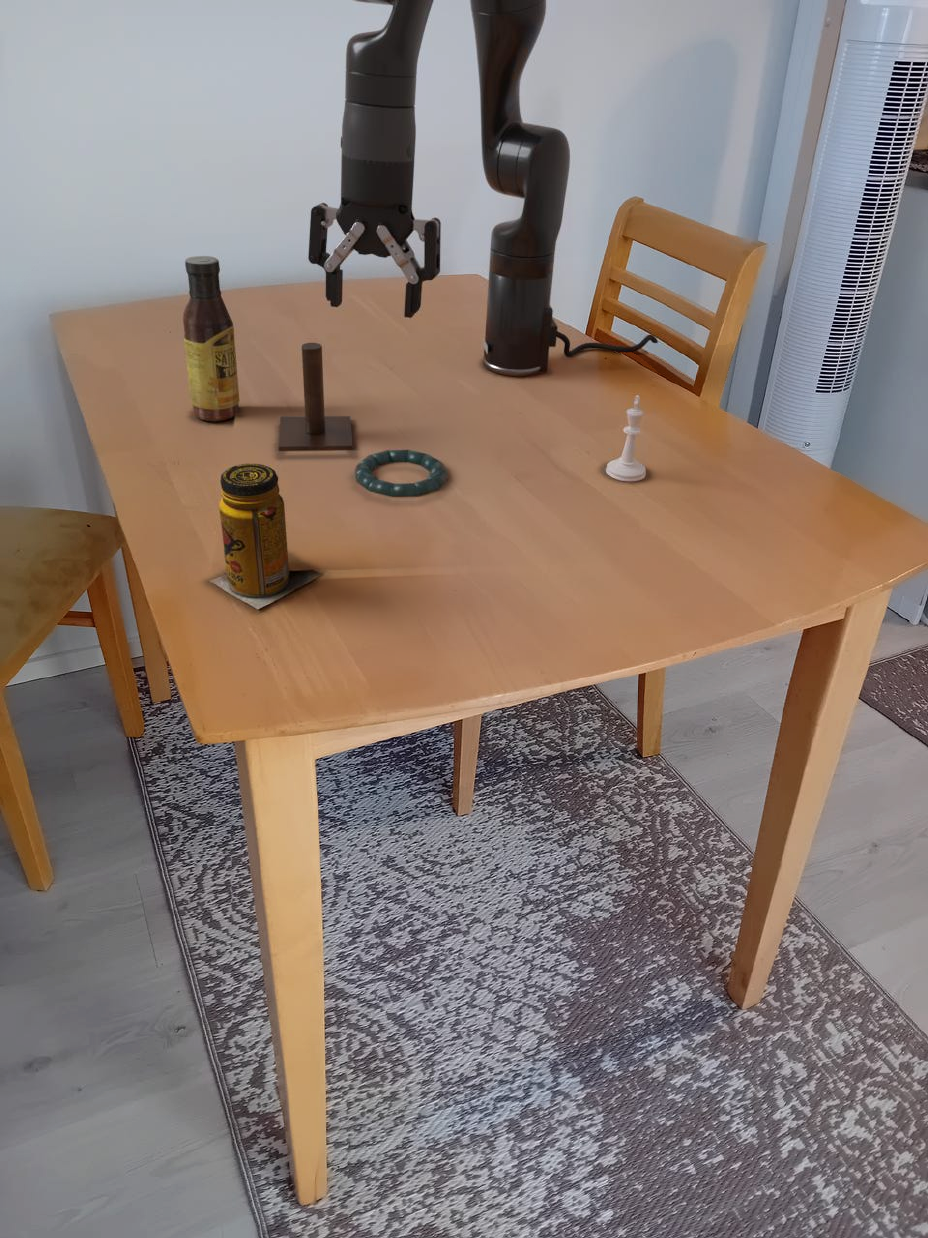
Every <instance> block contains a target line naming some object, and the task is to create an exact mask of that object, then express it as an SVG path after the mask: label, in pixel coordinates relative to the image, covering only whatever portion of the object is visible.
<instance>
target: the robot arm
mask: <svg viewBox="0 0 928 1238" xmlns="http://www.w3.org/2000/svg"><path fill="white" fill-rule="evenodd" d="M353 1H354V2H359V3H365V4H366V3H367V4H375V5H385V6H392V8H391V12H390V14H389V18H388V20H387V21H386V23H385V25H384V26H383V28H381V29H379V30H374V31H365V32H361V33H356V34H355V35H353V36H351V37H350V38H349V40H348V42H347V45H346V51H345V82H344V84H345V85H344V87H345V88H344V89H345V90H344V99H345V100H344V108H343V109H344V110H343V117H342V123H341V136H340V148H341V162H340V163H341V164H340V165H341V166H340V167H341V168H340V169H341V171H340V172H341V173H340V176H341V177H340V204H339V207H338V208H337V207H332V206H329V205H328V204H327V203H324V202H321V203H318V204H316V205H314V206H313V207H312V208H311V209H310V221H309V239H308V240H309V241H308V257H307V259H308V261H309V263H310V264H312V265H318V266H319V267H321V268H322V269H323V270H324V272H325V298H326V300H327V302H329V303H330V307H331V308H332V307H333V308H338V307H340V306H341V305H342V304H343V284H344V283H343V282H344V281H343V280H344V279H343V277H344V270H343V269H341V265H343V263H344V262H345V260H347V258H348V257H349V256H350V254H352V252H353V251H355V252H357V254H358V255H363V256H367V255H374V256H375V257H377V258H385V259H387V258H388V257H391V258H392V259H393V261H394V262H395V265H396V266H397V267H398V268H400V270H401V271H402V273H403V274H404V276H405V278H406V280H407V282H406V283H405V295H404V315H403V316H404V318H409V319H412V318H413V317H414V316H415V314H417V313H418V312H419V311H420V308H421V307H422V291H423V283H424V282H427V281H433V280H435V278H437V276H438V275H439V274H440V272H441V240H442V239H441V235H442V233H441V231H442V229H441V228H442V222H441V221H440V219H439V218H438V217H432V218H431V219H418V218H415V216H414V213H413V196H414V195H413V194H414V193H413V192H414V175H415V156H416V140H417V125H416V124H417V123H416V107H415V106H416V94H417V74H418V61H419V56H420V51H421V48H422V43H423V39H424V35H425V31H426V28H427V23H428V20H429V16H430V13H431V11H432V8H433V4H434V1H435V0H353ZM469 3H470V11H471V18H472V24H473V30H474V31H473V32H474V40H475V50H476V60H477V71H478V72H477V73H478V82H479V83H478V84H479V97H480V98H479V102H480V103H479V104H480V107H479V108H480V139H481V140H480V141H481V142H480V143H481V160H482V168H483V172H484V176H485V180H486V183H487V184H488V185H489V187H490V189H492V190H493V191H494V192H496V193H498V194H501V195H505V196H509V197H512V198H513V197H514V198H518V199H523V206H522V211H521V214H520V217H518V218H516V219H511V220H506V221H502V222H499V223H497V224H496V225H494V227H493V228H492V230H491V234H490V235H491V237H490V250H489V251H490V252H489V266H488V267H489V268H488V285H487V288H488V289H487V299H486V300H487V301H486V304H487V305H486V317H485V318H486V319H485V334H484V337H482V347H483V359H482V365H483V366H484V368H486V369H487V370H489V371H490V372H492V373H497V374H499V375H504V376H509V377H526V376H527V377H528V376H534V375H536V374H540V373H547V372H548V365H549V354H550V348H556V346H557V338H558V339H560V340H561V341H562V342H563V343H564V347H563V354H564V355H565V356H566V357H567V358H571V357H574V356H575V355H577V354H578V353H580V352H581V351H584V350H589V349H597V350H598V349H599V350H605V351H610V352H615V353H634V352H637V351H639V350H641V349H642V348H643V347H644V346H645V345H647V344H648V343H649V341H650V342H651V343H653V344H658V343H659V340H658V339H657V337H655V335H653V334H647V335H646V336H645V337H644V338H643V339H642V340H641V341H640V342H639V343H637V344H635V345H633V346H621V345H619V346H618V345H613V344H608V343H601V342H585V343H582V344H579V345H578V346H575V348H573V349H572V350H570V349H571V341H570V339H569V337H568V336H567V335H566V334H564V333H562V332H560V331H558V328H559V327H558V325H557V323H556V321H555V320H554V319H553V314H554V309H553V307H552V306H551V295H552V284H553V276H554V274H553V273H554V266H555V265H554V264H555V255H556V247H557V246H556V245H557V241H558V237H559V234H560V230H561V227H562V223H563V217H564V216H563V215H564V208H565V201H566V195H567V188H568V183H569V175H570V166H571V149H570V143H569V140H568V137H567V136H566V134H565V133H564V132H563V131H562V130H560V129H558V128H554V127H550V126H545V125H539V124H534V123H527V122H524V121H523V119H522V113H521V102H520V101H521V100H520V98H521V97H520V92H521V91H520V89H521V81H522V80H521V79H522V75H523V72H524V69H525V67H526V64H527V63H528V60H529V58H530V56H531V54H532V52H533V49H534V47H535V45H536V43H537V41H538V38H539V36H540V34H541V30H542V28H543V26H544V22H545V18H546V13H547V0H469ZM335 220H336V222H337V224H338V226H339V227H340V229H341V230H342V232H343V234H344V237H343V238H342V239H341V241H340V242H339V243H338V244H337V246H336V247H335V248H334V250H333V251H332V253H328V252H327V247H328V246H327V245H328V232H329V231H328V229H329V228H330V227H331V226H333V224H334V221H335ZM414 231H416V233H417V234H418V238H419V240H420V242H423V244H424V245H423V247H424V249H423V252H424V254H423V267H421V265H420V264H419V261H418V259H416V255H415V253H414V250H413V249H412V247H411V245H410V244H409V242H408V238H409V237H410V236H411V235H412V233H413V232H414Z"/></svg>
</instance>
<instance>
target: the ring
mask: <svg viewBox="0 0 928 1238" xmlns="http://www.w3.org/2000/svg"><path fill="white" fill-rule="evenodd" d="M391 463H409V464H412V465H418V466H420V467H421V468H424V469H425V470H426V471H428V473H429V476H428V477H427V478H426V479H422V480H419V481H416V482H411V483H410V482H406V483H395V482H390V481H385V480H382V479H379V478H377V477H376V476H374V475H373V472H374V471H375V470H376V469H378V467H380V466H384V465H386V464H391ZM354 474H355V481H356V483H357V484H359V485H360V486H361V487H363V488H364V489H365V490H367V491H368V492H371V493H374V494H379V495H383V496H385V497H386V496H387V497H391V498H408V497H409V498H411V497H420V496H424V495H427V494H431V493H433V492H437V491H438V490H440V489H441V487H443V486H444V485H445V484H446V483H447V481H448V479H449V477H448V472H447V469H446V466H445V464H444V463H443V462H441V461H440V460H439V459H437V458H435V457H434V456H432V455H431V454H428V453H425V452H420V451H416V450H412V449H386V450H383V451H378V452H375V453H371V454H369V455H367V456H366V457H365V458H363V460H361V461H360V462H358V464H356V466H355V468H354Z"/></svg>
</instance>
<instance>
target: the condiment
mask: <svg viewBox="0 0 928 1238" xmlns="http://www.w3.org/2000/svg"><path fill="white" fill-rule="evenodd" d="M278 482H279V476H278V473H277V472H276V470H275V469H274V468H272V467H270V466H267V465H264V464H261V463H242V464H237V465H233V466H231V467H229V468H228V469H226V470H225V471H223V473H221V475H220V487H221V492H220V494H221V499H220V501H219V506H218V508H219V518H220V525H221V533H222V534H221V535H222V542H223V553H224V561H225V569H226V573H225V574H223V575H222V574H221V575H220V576H219V577H216V578H214V579H210V580H209V582H211V583H212V584H214V585H215V586H217V587H219V588H220V589H221V590H223V591H225V592H226V593H228V594H229V595H231V596H232V597H234V598H236V599H238V600H239V601H241V602H243V603H245V604H248V605H249V606H251V607H253V608H254V609H255V610H259V609H262V608H263V607H266V606H267V605H270V604H272V603H274V602H275V601H278V600H280V599H281V598H284V597H285V596H288V595H289V594H290V593H292V592H294V591H295V590H297V589H298V588H301V587H303V586H304V585H307V584H309V583H310V582H312V581H313V580H314V579H316V578H318V577H320V576H322V575H323V573H321V572H319V571H316V570H314V569H299V570H290V567H289V566H290V563H289V551H288V539H287V537H288V536H287V523H286V509H285V501H284V498H283V496H281V494H280V487H279V483H278Z"/></svg>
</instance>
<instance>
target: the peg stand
mask: <svg viewBox="0 0 928 1238" xmlns="http://www.w3.org/2000/svg"><path fill="white" fill-rule="evenodd" d="M301 361H302V378H303V379H302V380H303V381H302V383H303V401H304V416H280V418H279V421H280V422H279V431H278V432H279V433H278V451H279V452H293V451H294V452H295V451H296V452H297V451H299V452H300V451H301V452H303V451H353V446H354V445H353V434H352V422H351V416H350V415H338V416H337V415H333V416H332V415H331V416H330V415H328V416H327V415H326V416H325V394H324V393H325V392H324V368H323V367H324V365H323V346H322V344H320V343H318V342H306V343H303V344H301Z"/></svg>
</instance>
